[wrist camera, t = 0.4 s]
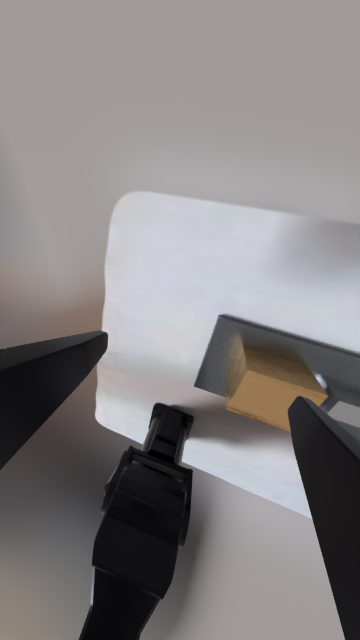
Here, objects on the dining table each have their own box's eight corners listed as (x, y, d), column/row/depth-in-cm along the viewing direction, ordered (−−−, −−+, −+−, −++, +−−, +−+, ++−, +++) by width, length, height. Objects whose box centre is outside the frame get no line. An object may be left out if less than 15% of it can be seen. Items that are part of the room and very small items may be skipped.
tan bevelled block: (282, 401, 21) (295, 433, 17) (225, 382, 21) (226, 409, 18) (307, 366, 18) (328, 395, 15) (242, 346, 19) (247, 369, 15)
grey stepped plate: (390, 448, 21) (425, 490, 17) (194, 382, 24) (190, 406, 20) (472, 389, 16) (542, 430, 13) (218, 315, 19) (218, 331, 15)
